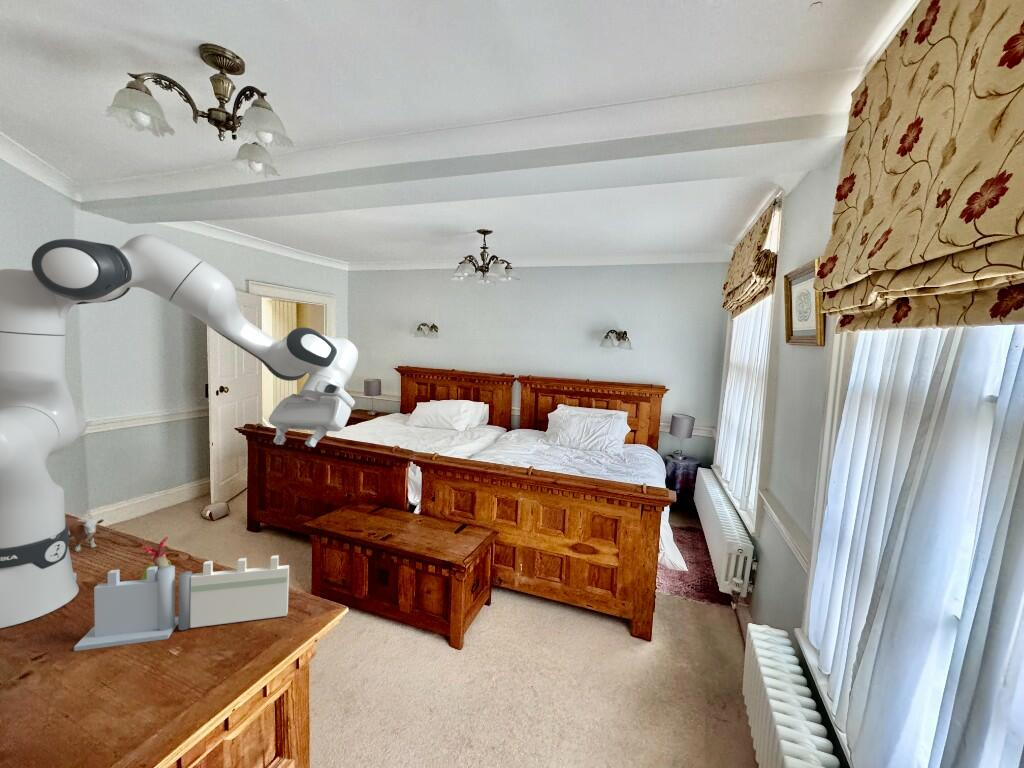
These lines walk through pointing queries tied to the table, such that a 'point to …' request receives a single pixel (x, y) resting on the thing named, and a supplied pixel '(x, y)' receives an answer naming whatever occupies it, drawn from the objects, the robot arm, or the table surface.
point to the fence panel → (232, 594)
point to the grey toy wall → (133, 610)
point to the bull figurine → (82, 530)
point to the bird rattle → (156, 558)
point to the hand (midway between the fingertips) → (293, 444)
